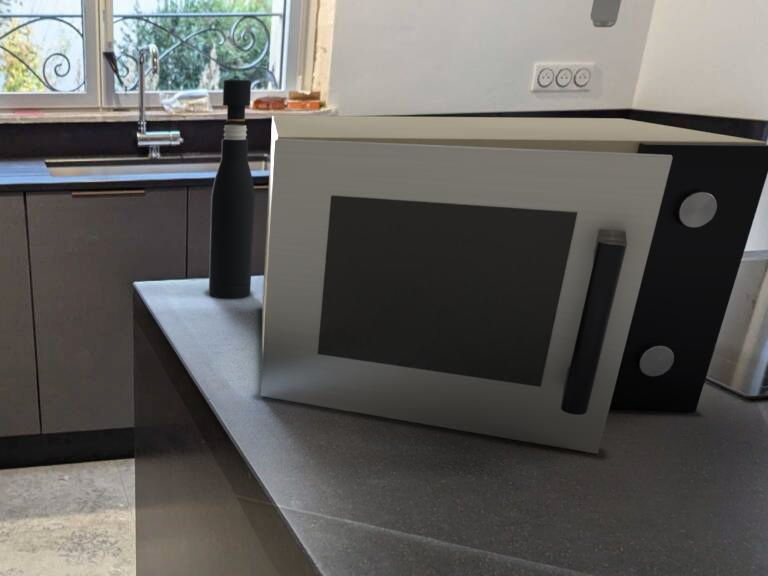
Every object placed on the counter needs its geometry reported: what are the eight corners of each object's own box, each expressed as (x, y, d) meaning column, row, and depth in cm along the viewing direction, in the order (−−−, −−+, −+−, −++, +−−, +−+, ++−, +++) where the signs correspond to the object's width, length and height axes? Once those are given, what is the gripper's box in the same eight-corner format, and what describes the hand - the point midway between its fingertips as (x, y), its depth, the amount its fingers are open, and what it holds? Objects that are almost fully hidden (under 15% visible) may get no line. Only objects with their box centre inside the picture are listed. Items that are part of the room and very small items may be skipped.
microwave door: (597, 484, 70) (678, 165, 59) (238, 417, 82) (249, 145, 71) (597, 447, 76) (671, 155, 65) (265, 391, 89) (279, 138, 78)
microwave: (699, 416, 83) (782, 144, 72) (262, 399, 87) (277, 138, 76) (577, 318, 115) (622, 118, 104) (262, 309, 119) (272, 115, 108)
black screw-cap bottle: (200, 294, 126) (205, 80, 113) (222, 285, 131) (229, 79, 118) (236, 300, 123) (245, 81, 110) (257, 291, 128) (268, 80, 115)
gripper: (718, -248, 48) (655, 18, 54) (690, -168, 65) (643, 29, 71) (600, -235, 51) (551, 18, 57) (601, -161, 67) (564, 29, 73)
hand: (603, 24), depth 64 cm, fingers open, 8 cm apart
